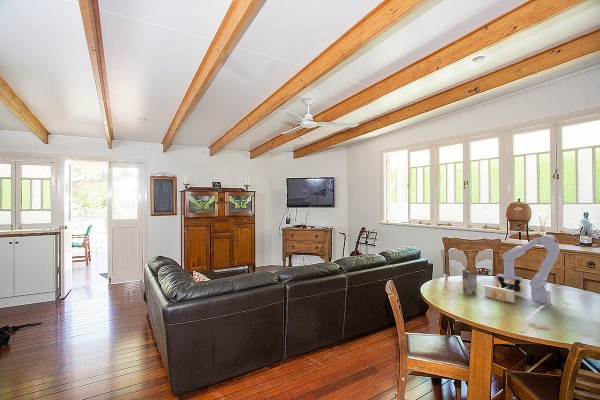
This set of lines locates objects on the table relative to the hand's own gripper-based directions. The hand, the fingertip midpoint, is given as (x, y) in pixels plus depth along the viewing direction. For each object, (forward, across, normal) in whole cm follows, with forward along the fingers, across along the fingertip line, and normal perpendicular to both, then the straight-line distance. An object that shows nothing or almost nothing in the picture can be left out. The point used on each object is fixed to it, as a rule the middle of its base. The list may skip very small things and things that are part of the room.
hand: (509, 289), depth 198 cm
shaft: (+1, 0, -5) cm, 5 cm away
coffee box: (+5, -18, -18) cm, 26 cm away
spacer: (+4, 0, -19) cm, 20 cm away
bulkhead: (+4, 0, -18) cm, 18 cm away
